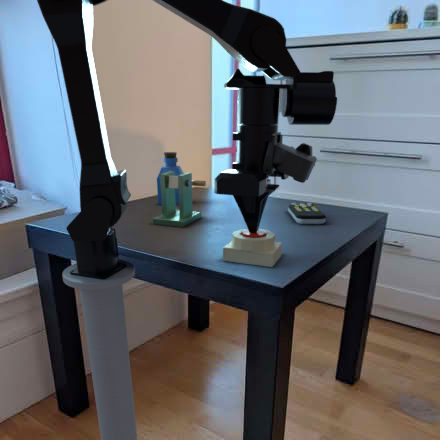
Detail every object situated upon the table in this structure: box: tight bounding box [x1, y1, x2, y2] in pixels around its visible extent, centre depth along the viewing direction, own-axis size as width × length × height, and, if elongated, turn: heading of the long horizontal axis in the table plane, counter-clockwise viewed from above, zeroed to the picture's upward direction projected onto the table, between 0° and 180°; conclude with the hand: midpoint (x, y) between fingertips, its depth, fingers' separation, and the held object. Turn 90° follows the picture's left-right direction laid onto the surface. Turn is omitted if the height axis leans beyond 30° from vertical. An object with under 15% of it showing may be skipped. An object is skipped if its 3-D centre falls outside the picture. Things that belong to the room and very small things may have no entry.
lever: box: [169, 176, 207, 189], centre depth 89 cm, size 10×6×2 cm, turn 159°
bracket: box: [152, 171, 202, 228], centre depth 87 cm, size 9×7×10 cm
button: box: [242, 230, 265, 238], centre depth 66 cm, size 4×4×2 cm
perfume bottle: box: [156, 151, 184, 206], centre depth 104 cm, size 6×6×12 cm
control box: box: [222, 228, 283, 268], centre depth 66 cm, size 6×8×4 cm
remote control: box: [287, 202, 327, 225], centre depth 92 cm, size 6×13×2 cm, turn 1°
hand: (253, 232), depth 65 cm, fingers closed, pressing on button
